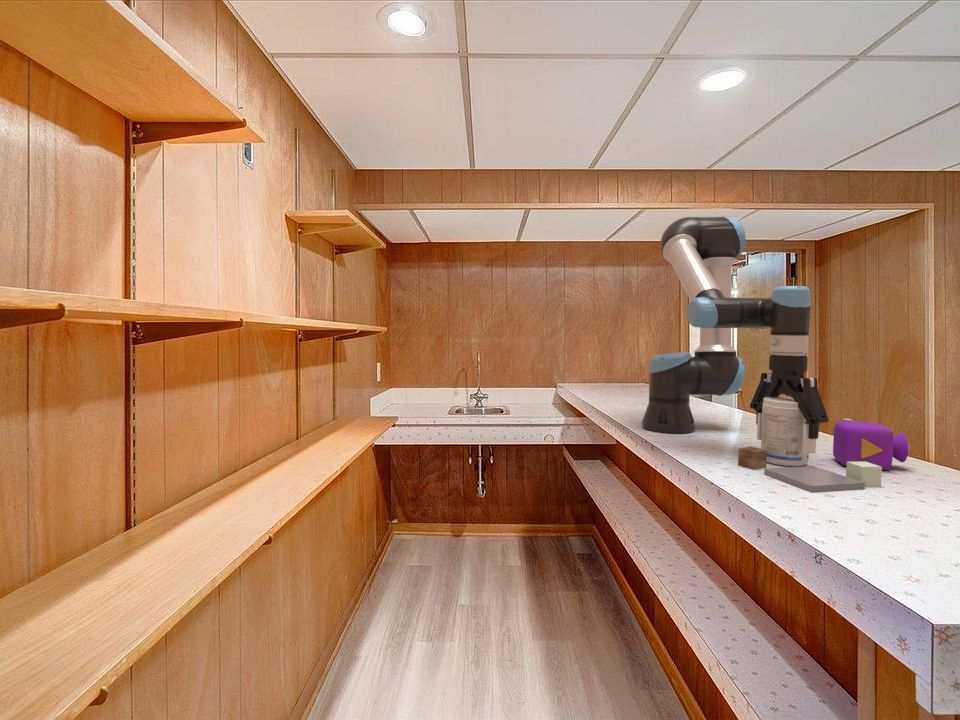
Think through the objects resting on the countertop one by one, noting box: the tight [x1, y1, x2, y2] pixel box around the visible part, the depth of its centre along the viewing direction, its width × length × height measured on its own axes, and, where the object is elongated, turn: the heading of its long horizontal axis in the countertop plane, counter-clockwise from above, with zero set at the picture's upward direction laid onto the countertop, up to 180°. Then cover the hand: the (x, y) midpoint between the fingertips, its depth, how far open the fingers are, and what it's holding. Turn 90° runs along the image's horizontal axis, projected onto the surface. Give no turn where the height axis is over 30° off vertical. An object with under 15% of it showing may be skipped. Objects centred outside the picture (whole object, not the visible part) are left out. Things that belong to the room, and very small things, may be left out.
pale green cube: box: [845, 462, 883, 488], centre depth 101 cm, size 4×4×4 cm
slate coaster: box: [763, 465, 866, 493], centre depth 102 cm, size 12×12×1 cm
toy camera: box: [832, 418, 910, 471], centre depth 114 cm, size 11×14×10 cm
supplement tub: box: [760, 396, 810, 467], centre depth 117 cm, size 10×10×15 cm
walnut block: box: [737, 445, 768, 471], centre depth 113 cm, size 4×4×4 cm
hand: (784, 446), depth 117 cm, fingers open, 13 cm apart
